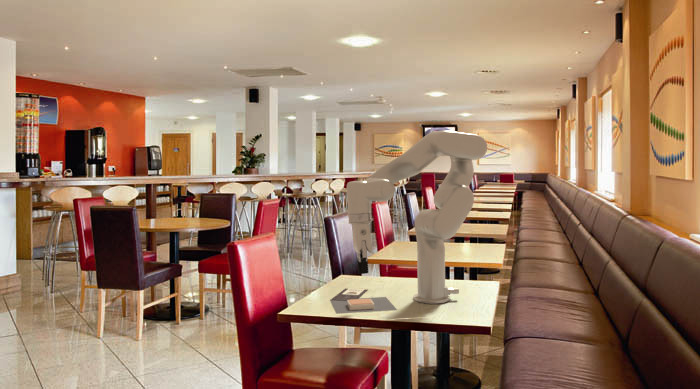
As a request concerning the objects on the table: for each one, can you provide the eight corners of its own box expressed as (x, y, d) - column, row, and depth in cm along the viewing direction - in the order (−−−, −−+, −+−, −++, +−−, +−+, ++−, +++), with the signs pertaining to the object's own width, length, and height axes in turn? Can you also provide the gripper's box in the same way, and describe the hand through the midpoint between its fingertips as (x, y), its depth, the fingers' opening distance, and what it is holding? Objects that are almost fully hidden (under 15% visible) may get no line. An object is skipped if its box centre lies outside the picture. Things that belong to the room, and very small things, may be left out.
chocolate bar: (330, 299, 196) (345, 288, 213) (330, 302, 196) (345, 290, 214) (354, 301, 194) (368, 289, 211) (355, 303, 194) (368, 292, 211)
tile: (370, 298, 191) (374, 303, 184) (370, 303, 191) (374, 308, 184) (347, 299, 189) (350, 304, 183) (347, 304, 190) (350, 310, 183)
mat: (385, 297, 200) (385, 296, 199) (397, 311, 182) (397, 309, 182) (329, 301, 197) (329, 299, 197) (336, 314, 179) (336, 313, 179)
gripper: (375, 219, 178) (378, 276, 179) (367, 215, 192) (370, 267, 194) (352, 221, 176) (355, 279, 178) (345, 216, 191) (348, 269, 193)
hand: (363, 273), depth 186 cm, fingers closed
